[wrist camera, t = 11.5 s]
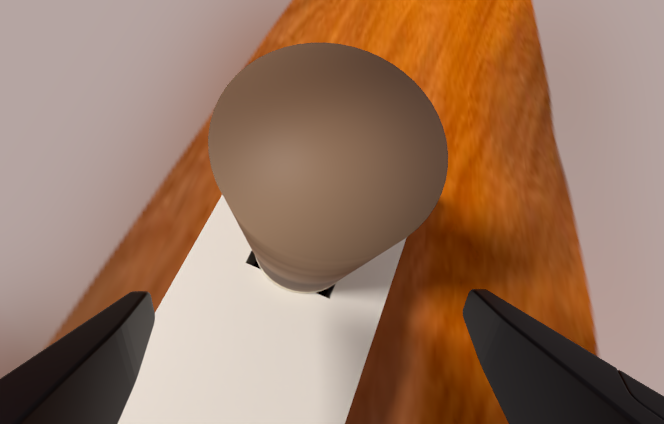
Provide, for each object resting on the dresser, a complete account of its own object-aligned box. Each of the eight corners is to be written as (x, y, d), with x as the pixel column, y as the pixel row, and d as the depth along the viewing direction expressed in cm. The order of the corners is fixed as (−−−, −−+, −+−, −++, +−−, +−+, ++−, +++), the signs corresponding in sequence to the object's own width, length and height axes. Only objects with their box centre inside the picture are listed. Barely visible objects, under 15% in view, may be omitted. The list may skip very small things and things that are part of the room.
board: (262, 615, 15) (256, 688, 12) (57, 529, 15) (2, 581, 12) (407, 198, 22) (425, 181, 19) (270, 139, 22) (268, 113, 19)
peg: (359, 279, 19) (489, 218, 7) (272, 309, 18) (242, 299, 6) (330, 198, 20) (398, 26, 8) (247, 221, 19) (180, 61, 7)
